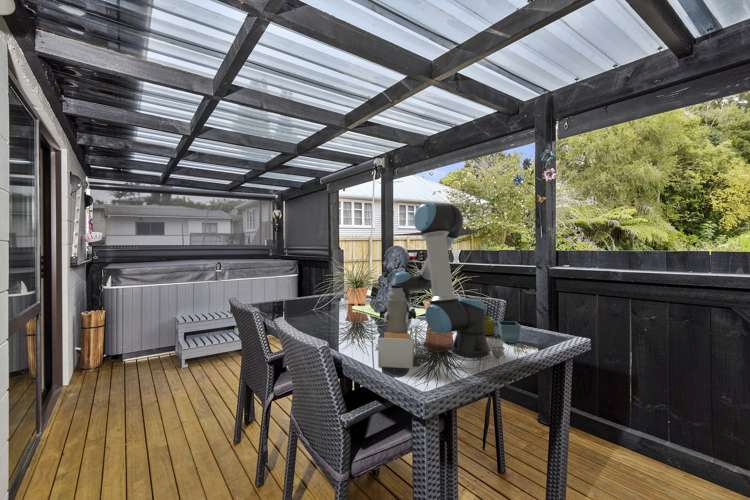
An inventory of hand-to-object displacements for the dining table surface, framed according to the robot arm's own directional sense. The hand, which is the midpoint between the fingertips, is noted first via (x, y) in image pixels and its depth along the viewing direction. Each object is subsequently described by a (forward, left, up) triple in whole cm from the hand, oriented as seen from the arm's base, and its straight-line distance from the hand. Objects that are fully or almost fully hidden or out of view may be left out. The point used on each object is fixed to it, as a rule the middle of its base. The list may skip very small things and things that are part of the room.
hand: (395, 319), depth 140 cm
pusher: (-1, +1, -16) cm, 16 cm away
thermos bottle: (+2, -4, -15) cm, 16 cm away
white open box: (0, -2, -17) cm, 17 cm away
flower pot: (-31, -52, -17) cm, 63 cm away
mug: (-16, -59, -17) cm, 64 cm away
